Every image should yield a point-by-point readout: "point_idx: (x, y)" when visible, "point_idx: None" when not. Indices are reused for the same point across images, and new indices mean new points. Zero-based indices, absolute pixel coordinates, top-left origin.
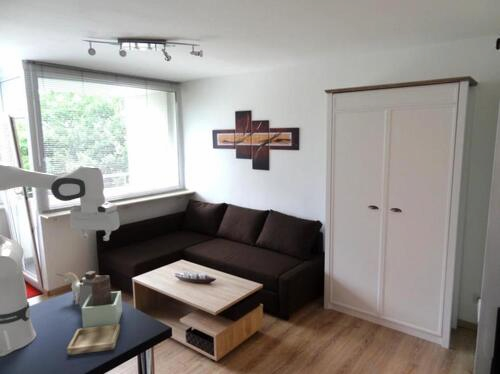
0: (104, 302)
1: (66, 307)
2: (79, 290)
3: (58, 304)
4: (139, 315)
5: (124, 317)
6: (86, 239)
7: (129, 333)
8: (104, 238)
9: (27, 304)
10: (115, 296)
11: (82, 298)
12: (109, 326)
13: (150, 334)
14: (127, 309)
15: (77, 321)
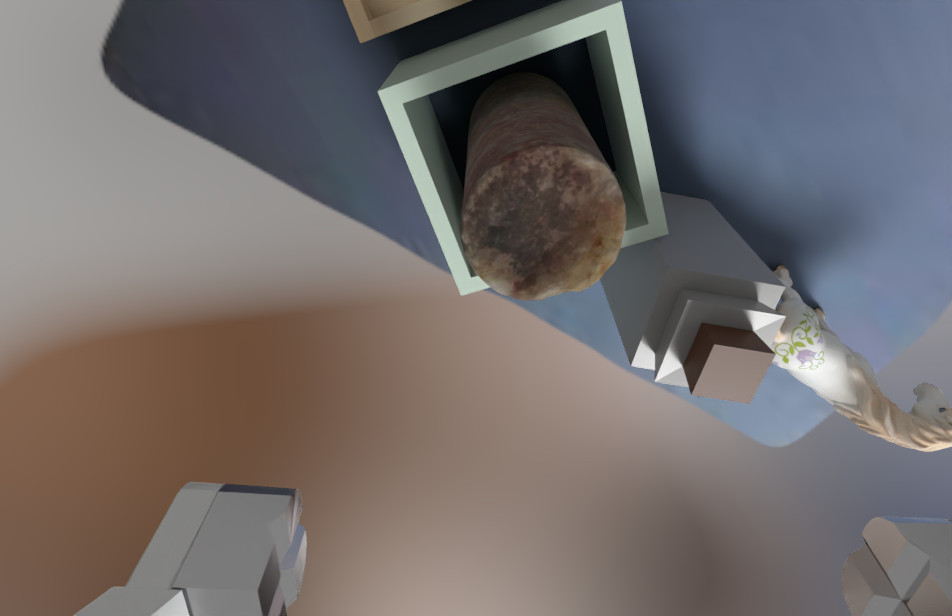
0: (485, 119)
1: (828, 240)
2: (787, 311)
3: (892, 266)
4: (342, 206)
5: None
6: (865, 527)
7: (285, 5)
8: (230, 534)
9: None
10: None
11: (725, 235)
12: (411, 6)
13: (151, 11)
14: None
15: (686, 99)
